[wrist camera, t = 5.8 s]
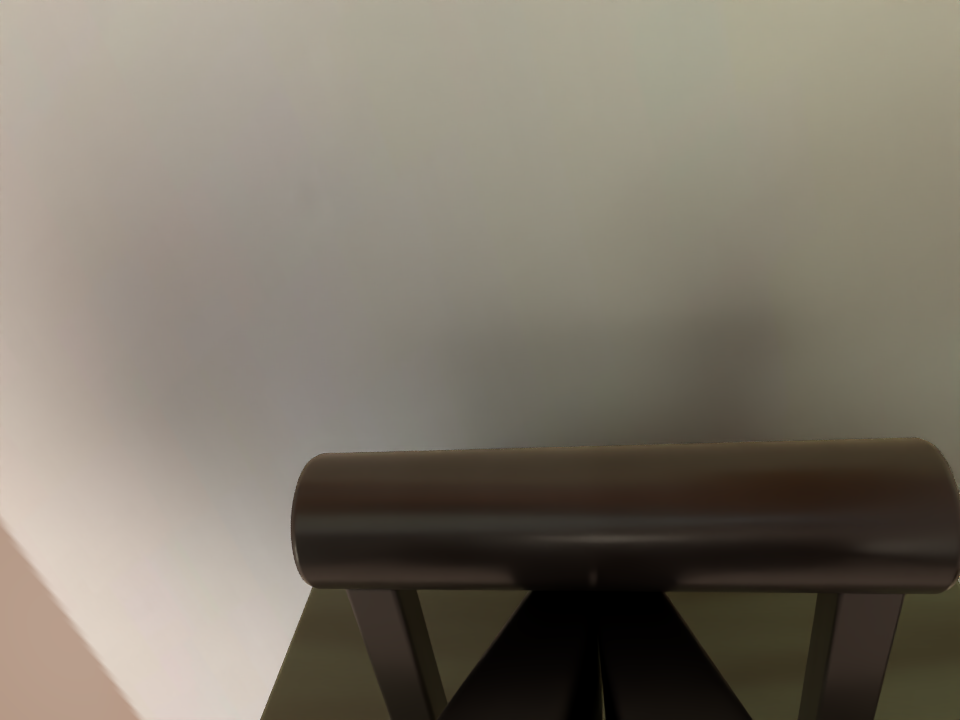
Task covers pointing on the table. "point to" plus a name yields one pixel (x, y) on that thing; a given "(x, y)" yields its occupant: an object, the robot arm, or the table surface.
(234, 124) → the table surface
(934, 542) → the drawer
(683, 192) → the table surface
